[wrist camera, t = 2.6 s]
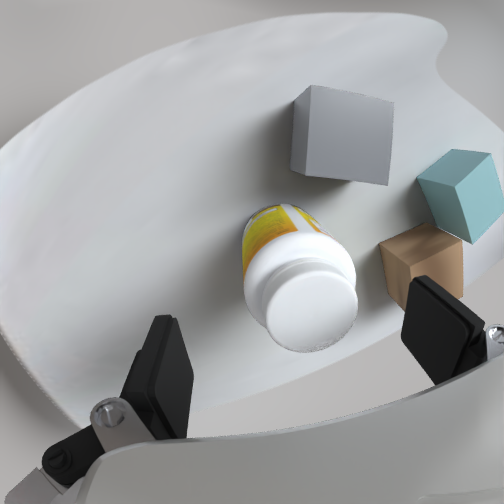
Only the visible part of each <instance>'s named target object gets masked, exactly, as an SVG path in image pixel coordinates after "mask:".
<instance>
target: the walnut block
mask: <svg viewBox="0 0 504 504" xmlns="http://www.w3.org/2000/svg"><path fill="white" fill-rule="evenodd" d="M379 246H380V251H381V256H382V261H383V266H384V272H385V278H386V283H387V290H388V294H389V295H390V296H391V297H392V298H393V299H394V301H395V302H396V303H397V304H398V305H399V306H400V307H401V308H402V309H403V310H404V312H405V309H406V303H407V296H408V289H409V284H410V282H411V281H412V279H413V278H414V277H418V276H422V275H427V276H428V277H430V278H431V279H432V280H434V281H435V282H436V283H438V284H439V285H440V286H441V287H443V288H444V289H445V290H447V291H448V292H449V293H450V294H452V295H453V296H454V297H455V298H457V299H459V298H461V297H463V248H462V240H461V239H459V238H457V237H455V236H453V235H451V234H449V233H447V232H445V231H443V230H441V229H439V228H437V227H435V226H433V225H431V224H429V223H424V224H422V225H420V226H417V227H415V228H413V229H410V230H408V231H406V232H404V233H401V234H399V235H397V236H394V237H392V238H390V239H387V240H385V241H383V242H380V243H379Z"/></svg>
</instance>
